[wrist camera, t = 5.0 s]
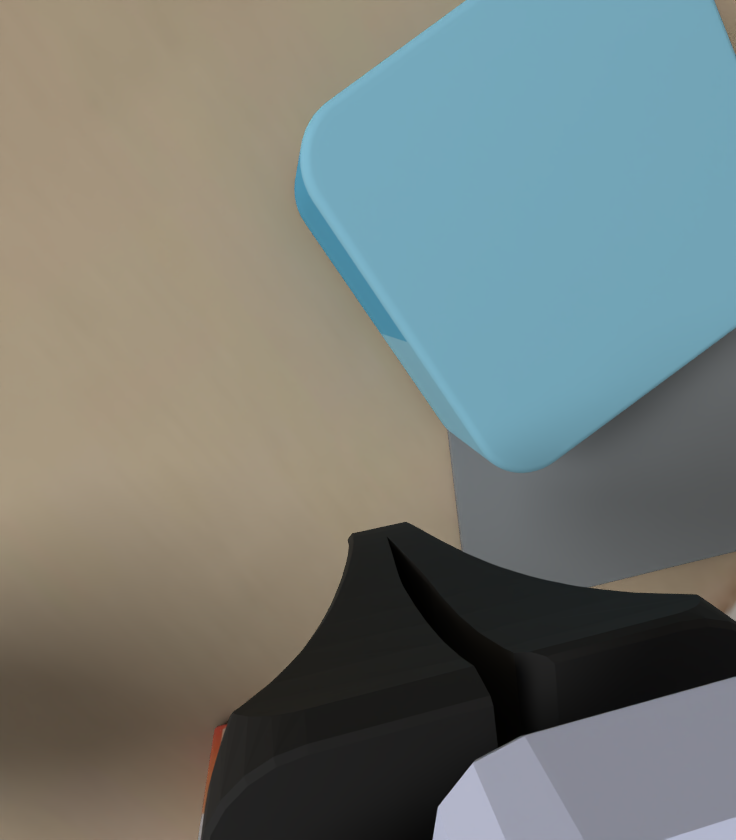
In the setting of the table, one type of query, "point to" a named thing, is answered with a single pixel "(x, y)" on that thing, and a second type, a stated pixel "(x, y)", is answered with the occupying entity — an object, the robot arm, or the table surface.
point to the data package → (536, 210)
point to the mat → (616, 487)
